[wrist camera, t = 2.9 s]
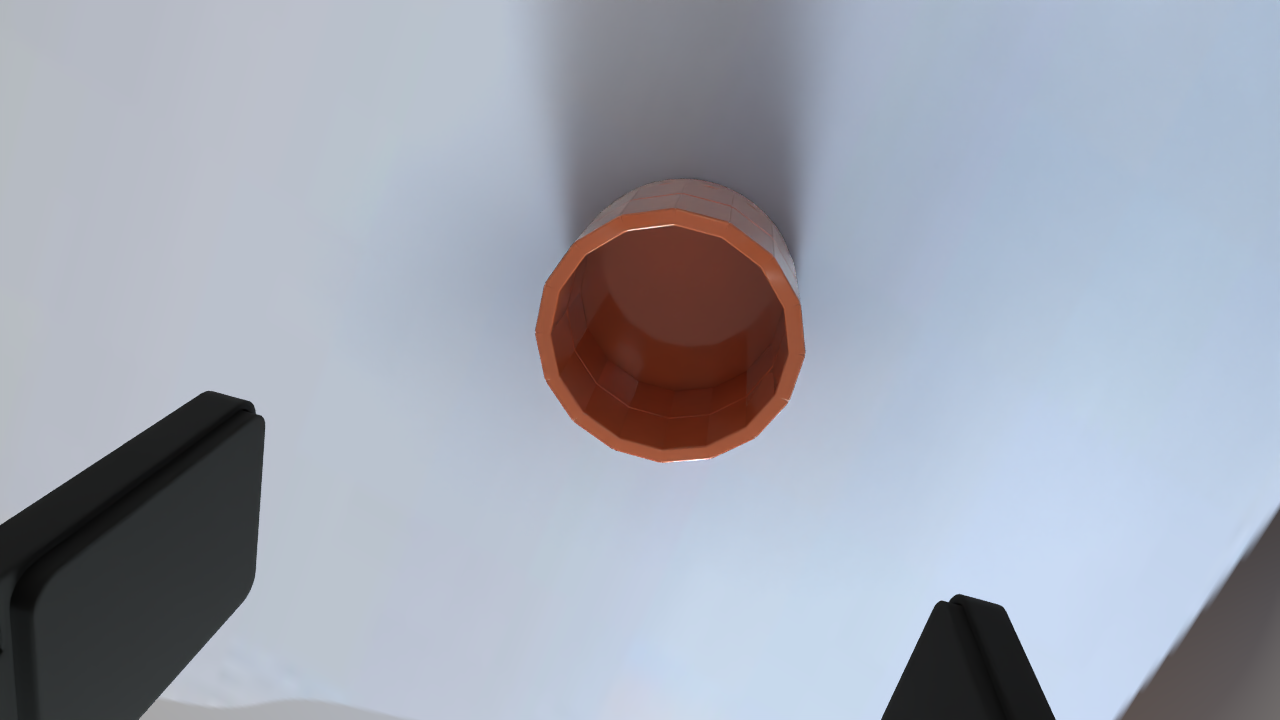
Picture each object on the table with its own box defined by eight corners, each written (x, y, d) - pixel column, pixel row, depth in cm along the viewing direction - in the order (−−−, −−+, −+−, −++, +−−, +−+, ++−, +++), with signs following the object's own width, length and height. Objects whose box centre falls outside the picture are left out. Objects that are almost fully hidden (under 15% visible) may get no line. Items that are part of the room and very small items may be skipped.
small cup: (825, 211, 22) (841, 251, 18) (758, 415, 25) (759, 490, 21) (600, 152, 23) (564, 178, 18) (555, 359, 25) (516, 423, 21)
